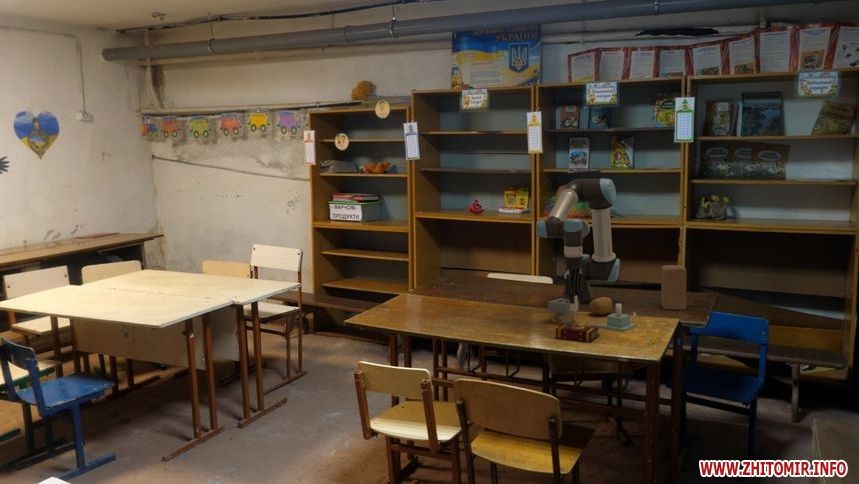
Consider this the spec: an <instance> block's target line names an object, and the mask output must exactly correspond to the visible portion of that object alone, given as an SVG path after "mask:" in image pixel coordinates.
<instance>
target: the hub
mask: <svg viewBox="0 0 859 484" xmlns="http://www.w3.org/2000/svg"><path fill="white" fill-rule="evenodd" d="M622 306H623V305H622V303H616V304H615V313H612V314H609V315H607V316H606V322H605V323H603V324H600V325H599V326H600V329H606V330H612V331H618V332H622V333H623V332H626V331H629V330H631V329H634V328H637V327H638V326H637V323H631V315H629V314H625V313H622V311H623V310H622V309H623V308H622Z"/></svg>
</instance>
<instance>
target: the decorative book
mask: <svg viewBox="0 0 859 484" xmlns="http://www.w3.org/2000/svg"><path fill="white" fill-rule="evenodd" d="M599 329H601V327H600V325H593V324H590V325H586V324H584V323H579V324H578V323H575V322H569V323H567V322H564V323H561V325H559V326H558V327H556V328H555V338H556V339H562V340H564V339H565V341H569V340H570V341H578V342H580V341H581V343H584V342H587V343H592V342H593V341H594V340H596V339H598V338H600V336H601V334H600V333H599Z"/></svg>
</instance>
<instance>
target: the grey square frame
mask: <svg viewBox="0 0 859 484" xmlns="http://www.w3.org/2000/svg"><path fill="white" fill-rule="evenodd" d="M561 301H566V303H562V302H561ZM579 310H580V303H579V301H577V311H579ZM547 311H549V312H552V311H553V312H559V313H565V314H567V313H570V312H574V313H575V311H571V310H570V300H569V299H563V297H561V298H560V297H559V298H557V299H552V300H549V301H547Z"/></svg>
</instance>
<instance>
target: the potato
mask: <svg viewBox="0 0 859 484" xmlns="http://www.w3.org/2000/svg"><path fill="white" fill-rule="evenodd" d="M612 308H613V301H612V299H611V298H610V297H606V296H602V297H597V298H595V299H593V300H592V301H590V302H589V311H591V312H592V313H593V314H595V315H601V316H604V315H607V314H608V313H610V312H611V310H612Z"/></svg>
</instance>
